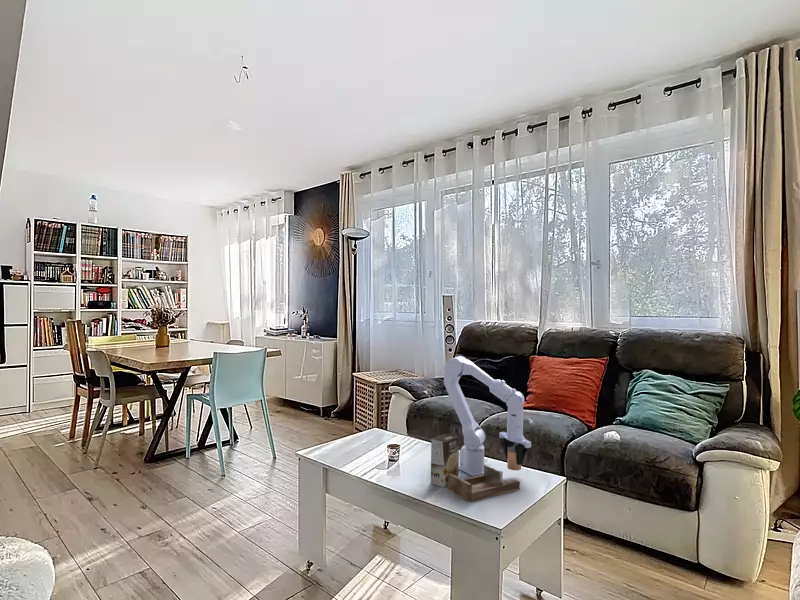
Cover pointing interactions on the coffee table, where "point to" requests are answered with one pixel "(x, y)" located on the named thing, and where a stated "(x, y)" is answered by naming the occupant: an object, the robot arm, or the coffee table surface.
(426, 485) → the coffee table surface
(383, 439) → the coffee table surface
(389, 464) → the coffee table surface
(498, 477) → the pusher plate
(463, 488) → the pusher lane
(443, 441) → the coffee box
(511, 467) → the jar
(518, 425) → the robot arm
